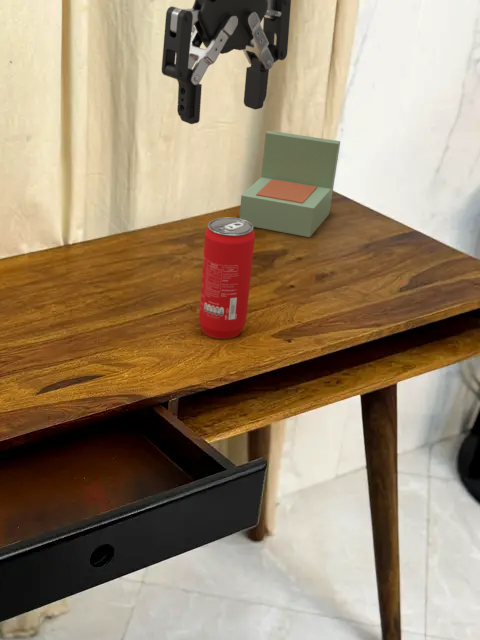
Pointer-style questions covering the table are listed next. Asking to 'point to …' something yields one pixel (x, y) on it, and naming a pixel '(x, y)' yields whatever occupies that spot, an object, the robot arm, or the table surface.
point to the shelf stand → (292, 184)
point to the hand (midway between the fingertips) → (222, 114)
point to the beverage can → (226, 277)
